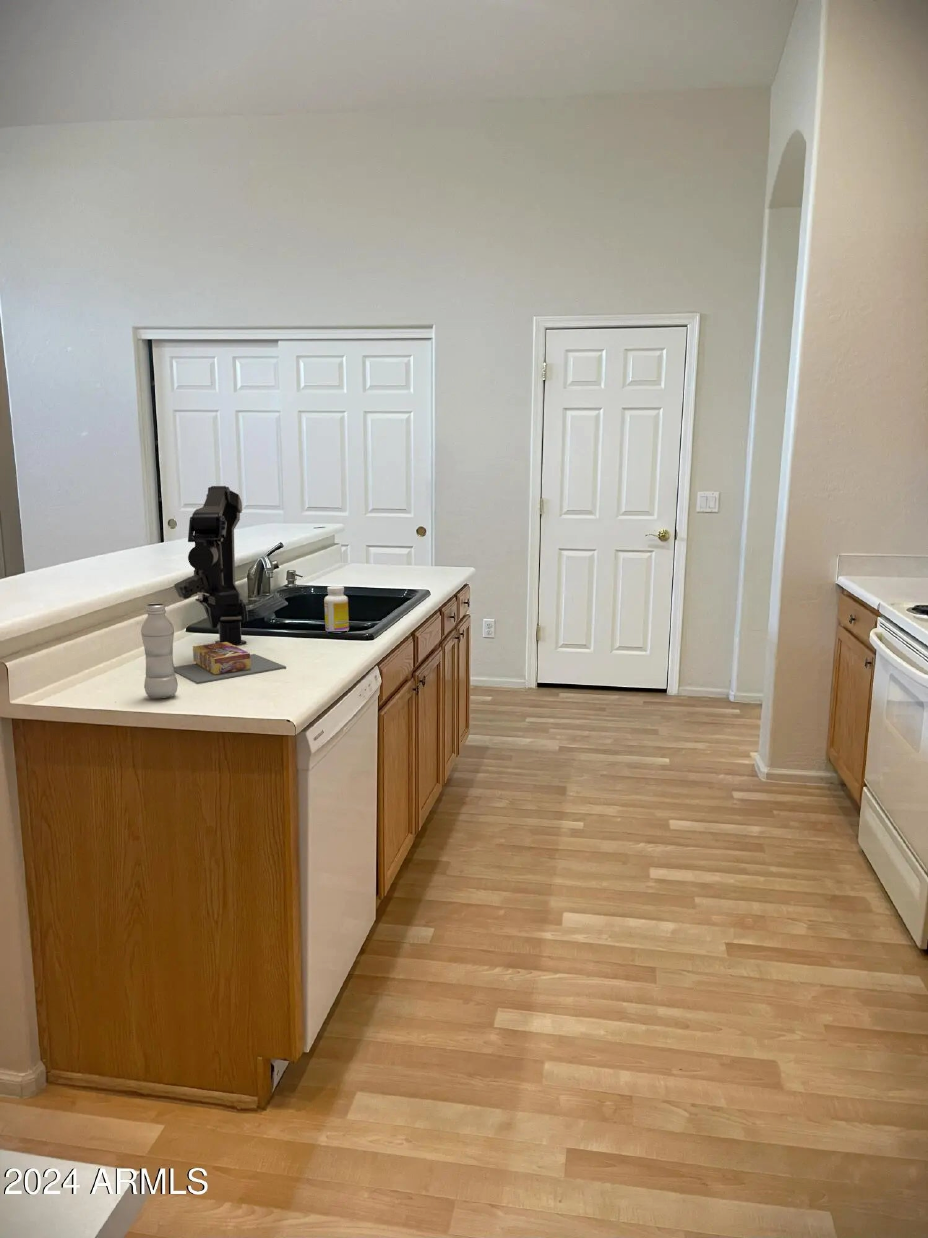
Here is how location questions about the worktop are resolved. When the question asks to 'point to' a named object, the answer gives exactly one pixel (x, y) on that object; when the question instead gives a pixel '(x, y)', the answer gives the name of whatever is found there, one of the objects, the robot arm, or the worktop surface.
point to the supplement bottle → (336, 609)
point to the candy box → (221, 658)
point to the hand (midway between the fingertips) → (214, 628)
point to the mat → (203, 675)
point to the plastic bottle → (158, 653)
